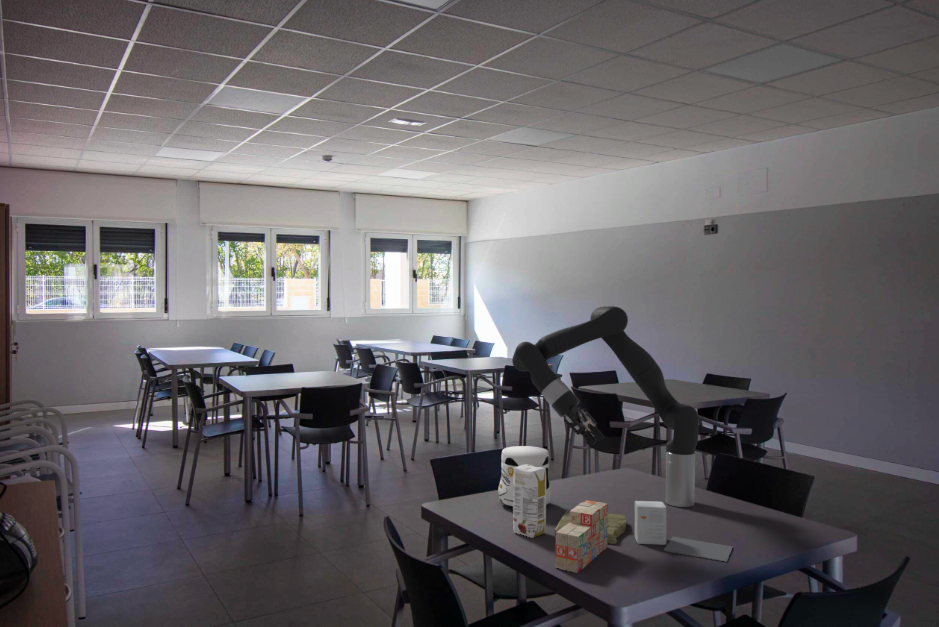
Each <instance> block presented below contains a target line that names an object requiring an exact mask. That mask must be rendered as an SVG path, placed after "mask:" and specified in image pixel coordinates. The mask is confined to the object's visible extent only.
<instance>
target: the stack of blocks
mask: <svg viewBox="0 0 939 627" xmlns="http://www.w3.org/2000/svg"><path fill="white" fill-rule="evenodd" d="M608 508H609V506H608V503H606V502H600V501H594V500H587V499H586V500H584V501H582V502H580V503H579V504H578V505H576V506H575V507H574V508H572V509H570V510H571V511H570V523H568V524H567V525H566V526H564V527H562V528H561V529H560V530H558V531H557V532H556V537H555V545H554V553H555V554H554V555H555V556H554V558H555V559H554V562H555V564H554V568H555V569H557V568H559V569H558V570H563V571H566V570H567V572H570V571H571V572H570V573H575V574H578V573H579V572H581V571H582V570H583V569H584V568H585V567H586V566H588V565H589V564H590V563H591V562H593V560H595V558H597V557H598V556H599V555H600V554H601V553H603V552H604V551H605V550H606V549H607V548H608V543H607V525H608V515H607V514H609V512H608ZM603 550H604V551H603ZM597 555H598V556H597Z"/></svg>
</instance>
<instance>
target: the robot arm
mask: <svg viewBox="0 0 939 627" xmlns="http://www.w3.org/2000/svg"><path fill="white" fill-rule="evenodd" d="M628 323H629V317H628V314H627V312H626V311H625V310H624V309H623V308H621V307H619V306H614V305H610V306H609V305H608V306H606V305H605V306H599V307H596V308H594V309H593V311H592V312H591V314H590V320H588V321H585V322H581V323H579V324H575V325H572V326H569V327H565V328H562V329H558V330H556V331H553V332H551V333H549V334H546V335H545V336H542V337H541V338H540V339H539V340H537V342H536V343H535V344H534V343H532V342H530V341H522V342H520V343H518V344H517V346H516V348H515V350H514V353H513V355H512V358H511V359H512V361H511V363H512V366H513V368H515V369H516V370H517V371H519V372H528V373H529V374H530V380H531V382H532V384H533V385H534V387H535V388H536V389H537V390H538V391H539V392H540V393H541V394H542V396H543V398H544V399H545V401H546V402H547V403H548V404H549V405H550V406H551V408H552V409H553V410H554V411H555V413H557V415H558V416H559V417H560V418H564V417H565V416H566V417H565V418H564V419H563V421H564V422H565V423H566V424H567V426H569V428H570V429H572V431H573V432H574V433H575V434H576V435H577V436H581V437H583V438H584V439H585V441H587V443H588V444H589V445H590V446H593V445H595V443H596V442H597V441H598V442H601V441H602V440H603V439H604V438H605V435H604V434H603V432H601V430H599V428H598V427H597V424H598V422H597V421H596V420H595V419H594V418H593V416H592V415H591V414H590V412H588V410H587V409H586V408H582V409H581V408H580V407H578V405H579V404H580V401H581V400H580V399H579V398H578V397H577V396H576V394H575V393H574V392H573V391H572V390H571V389H570V388H569V386H568V385H567V384H566V383H565V382H564V381H562V380H561V378H560V377H559V376H558V375H557V373H555V372H554V371H553V370H552V369H551V367H550V366H549V364H548V362H547V361H548V360H550V359H552V358H554V357H556V356H559V355H561V354H564V353H566V352H568V351H570V350H573V349H575V348H577V347H580V346H582V345H584V344H586V343H589V342H590V343H591V342H592V341H595V340H598V339H602V341H604V342H605V344H606V345H607V346H608V347H609V348H610V349H611V351H612V352H613V353H614V355H615V356H616V358H617V359H618V360H619V362H620V364H622V366H623V367H624V368H625V370H626V371H627V373H628V374H629V376H630V377H631V378H632V380H633V381H634V382H635V384H636V385H637V386H638V387H639V388H640V390H641V391H642V393H643V395H645V396H646V398H647V399H648V400H649V401H650V403H651V404H652V406H653V407H654V409H655V411H656V412H657V414H658V416H659V418H660V419H661V421H662V423H663V425H665V426H666V427H667V428H668V429H670V430H673V434H672V436H673V437H672V439H671V440H669V441H668V442H666V444H665V447H666V448H665V502H664V503H665V504H667V505H670V506H673V507H676V508H677V507H678V508H690V507H694V506H695V488H696V486H695V484H696V483H695V480H696V479H695V478H696V475H695V474H696V471H695V470H696V469H695V468H696V462H695V461H696V459H695V458H696V448H697V445H698V442H699V428H700V426H699V425H700V420H699V419H700V418H699V413H698V412H697V410H696V409H695V408H694V407H693V406H691V405H688V404H684V403H680V402H679V401H677V399H676V398H675V397H674V396H673V395H672V393H671V392H670V391H669V389H668V388H667V386H666V381H665V377H664V372H663V370H662V369H661V367H660V366H659V365H658V363H657V362H656V360H655V359H654V357H653V356H652V355H651V354H650V353H649V352H648V351H646V349H645V348H643V347H642V346H641V345H639V344H638V343H637V342H636V341H635V340H633V339H632V338H631V337H630V336H629V335H628V334H627V333H626V332H625V329H626V328H627V326H628Z"/></svg>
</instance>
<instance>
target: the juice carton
mask: <svg viewBox="0 0 939 627" xmlns="http://www.w3.org/2000/svg"><path fill="white" fill-rule="evenodd" d="M546 522H547V505H546V468H542V467H534V466H532V465H528V464H525V465H521V466H518V467H515V468H514V477H513V508H512V526H513V533H514V534H516V533H517V535H520V534H521V536H523V535H524V537H526V536H527V538H529V537H530V539H534V538H536V536H537V537H539V536H541V535H543V534H545V532H546V526H547V524H546Z"/></svg>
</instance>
